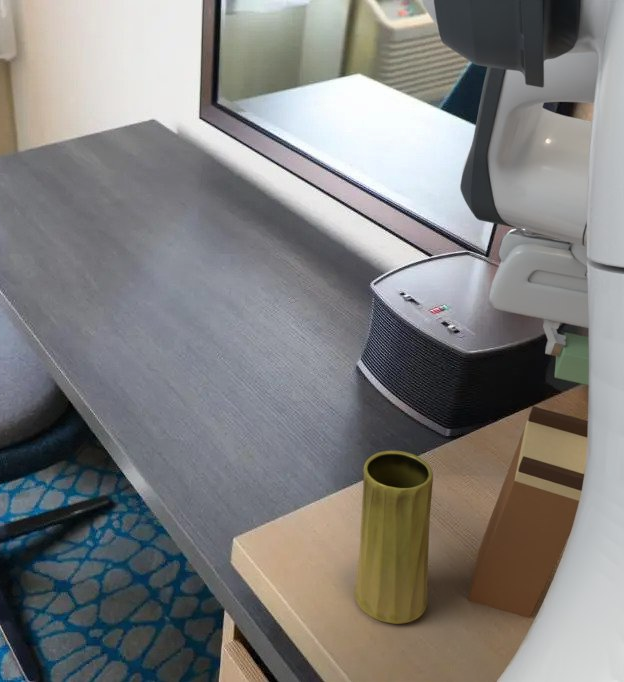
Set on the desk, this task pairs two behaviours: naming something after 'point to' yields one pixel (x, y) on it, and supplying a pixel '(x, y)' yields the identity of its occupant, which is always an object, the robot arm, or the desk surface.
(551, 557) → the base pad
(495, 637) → the desk surface
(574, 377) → the green pad
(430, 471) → the vase
